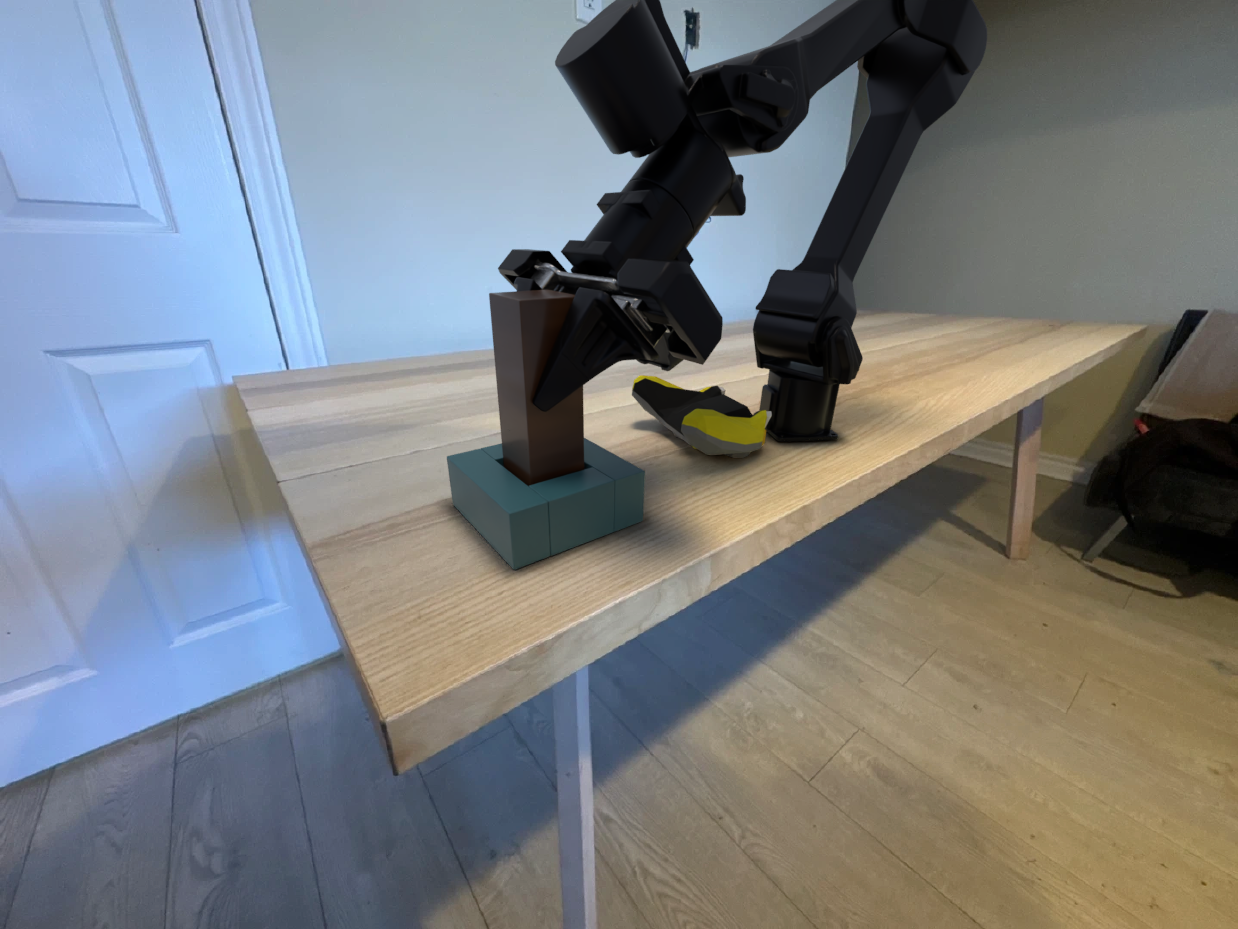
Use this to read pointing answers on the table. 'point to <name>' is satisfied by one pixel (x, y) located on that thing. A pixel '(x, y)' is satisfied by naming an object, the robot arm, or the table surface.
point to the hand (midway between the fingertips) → (521, 399)
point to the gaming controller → (703, 417)
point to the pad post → (533, 387)
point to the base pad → (545, 502)
